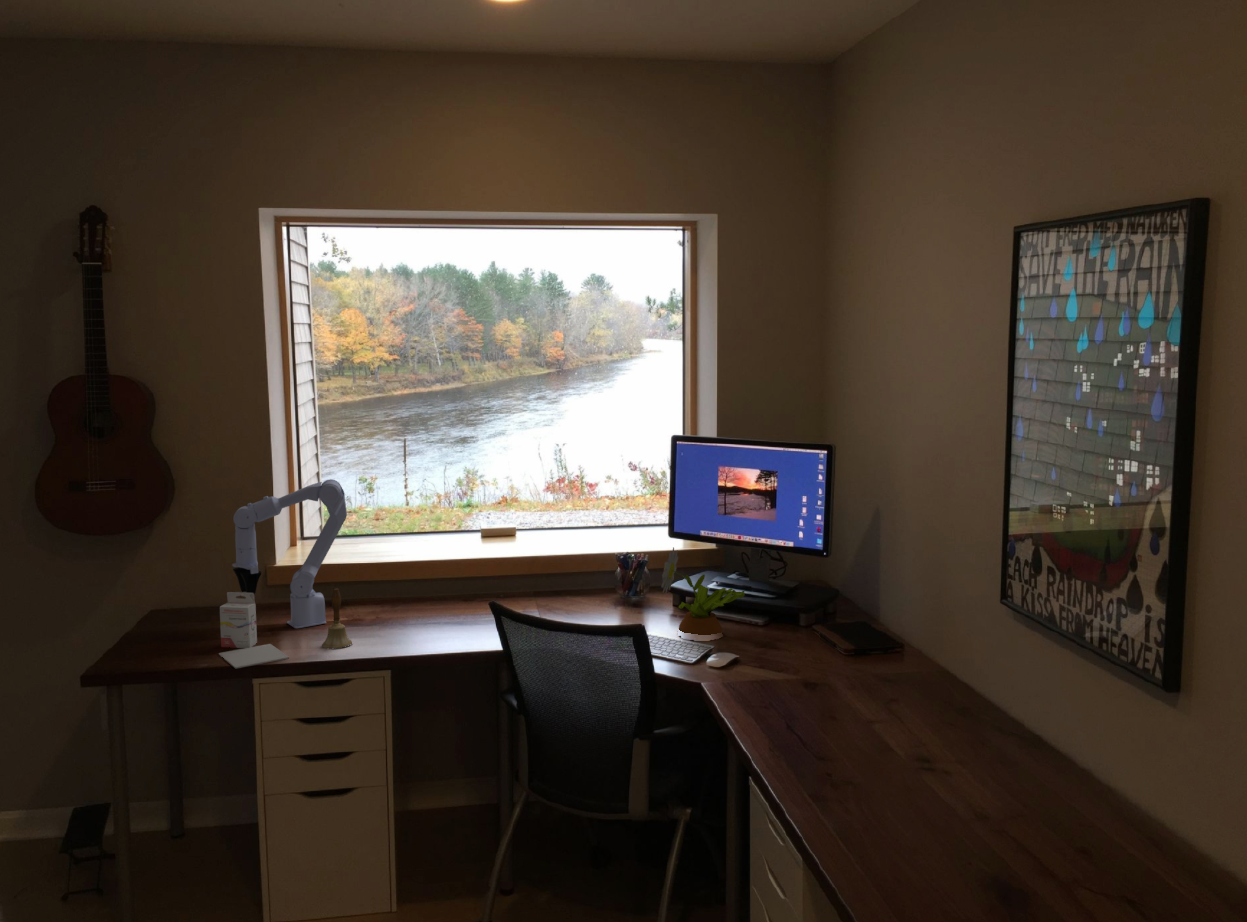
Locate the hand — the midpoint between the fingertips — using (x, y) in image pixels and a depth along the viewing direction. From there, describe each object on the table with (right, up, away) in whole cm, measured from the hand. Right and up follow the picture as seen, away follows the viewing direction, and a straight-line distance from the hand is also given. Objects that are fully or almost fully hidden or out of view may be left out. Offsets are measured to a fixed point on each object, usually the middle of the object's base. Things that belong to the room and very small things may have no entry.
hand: (248, 593), depth 309 cm
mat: (+11, -14, -26) cm, 31 cm away
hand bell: (+31, -13, -16) cm, 37 cm away
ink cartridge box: (+3, -13, -16) cm, 21 cm away
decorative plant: (+133, -11, -9) cm, 134 cm away
